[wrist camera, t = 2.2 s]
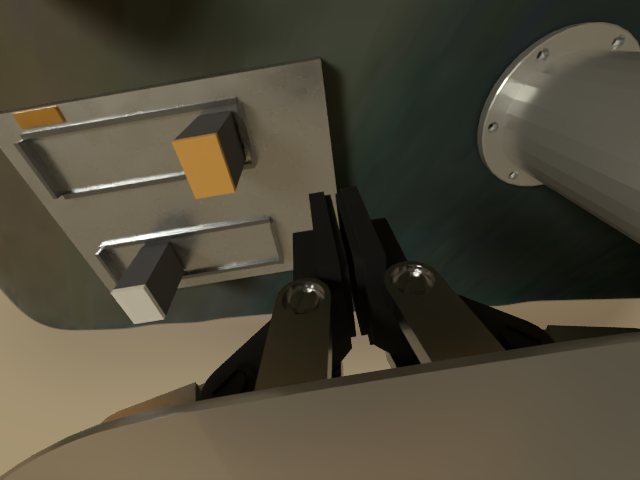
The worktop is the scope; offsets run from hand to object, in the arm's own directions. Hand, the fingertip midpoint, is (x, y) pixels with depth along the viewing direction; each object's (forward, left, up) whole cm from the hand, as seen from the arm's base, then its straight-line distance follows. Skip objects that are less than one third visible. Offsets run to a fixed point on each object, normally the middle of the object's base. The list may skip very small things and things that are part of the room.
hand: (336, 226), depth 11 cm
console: (+11, +5, -17) cm, 20 cm away
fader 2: (+7, 0, -15) cm, 16 cm away
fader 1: (+16, +10, -15) cm, 24 cm away
